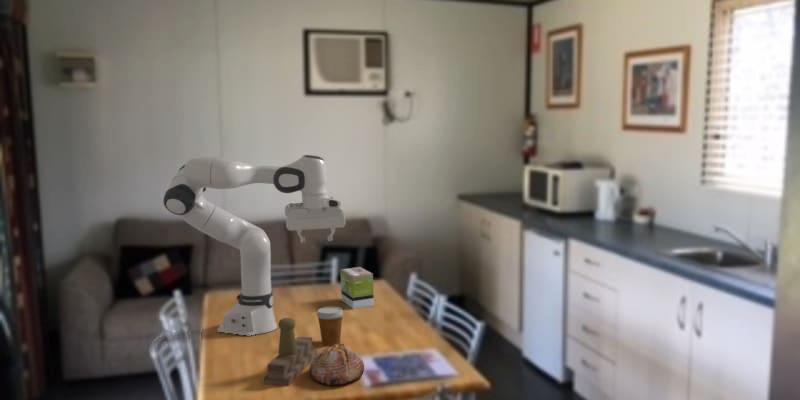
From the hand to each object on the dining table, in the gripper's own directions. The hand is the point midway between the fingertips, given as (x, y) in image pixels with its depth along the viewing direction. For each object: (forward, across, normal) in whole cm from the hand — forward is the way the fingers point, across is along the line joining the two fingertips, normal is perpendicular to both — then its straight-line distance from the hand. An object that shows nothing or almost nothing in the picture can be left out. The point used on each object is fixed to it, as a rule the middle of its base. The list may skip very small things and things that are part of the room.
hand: (316, 241), depth 223 cm
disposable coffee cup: (+37, +4, +2) cm, 38 cm away
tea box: (+37, +22, +50) cm, 66 cm away
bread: (+38, +2, -29) cm, 48 cm away
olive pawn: (+31, -13, -22) cm, 40 cm away
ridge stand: (+37, -12, -20) cm, 44 cm away
